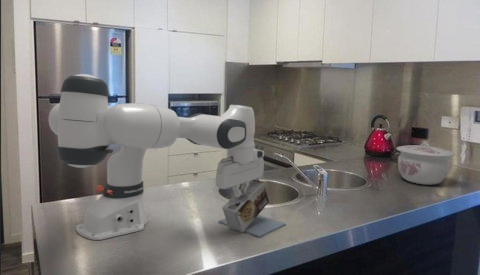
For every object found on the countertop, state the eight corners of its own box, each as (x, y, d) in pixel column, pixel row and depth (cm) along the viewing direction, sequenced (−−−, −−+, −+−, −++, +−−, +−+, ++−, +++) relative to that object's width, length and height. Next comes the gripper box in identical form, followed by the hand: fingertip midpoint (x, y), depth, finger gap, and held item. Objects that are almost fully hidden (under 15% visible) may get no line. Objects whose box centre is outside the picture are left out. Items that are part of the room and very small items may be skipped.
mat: (259, 237, 118) (259, 236, 118) (218, 222, 129) (218, 220, 129) (285, 225, 129) (286, 223, 129) (245, 212, 141) (245, 210, 141)
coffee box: (228, 227, 125) (255, 198, 135) (243, 233, 121) (270, 202, 131) (221, 207, 121) (249, 178, 131) (236, 212, 117) (264, 181, 127)
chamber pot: (446, 192, 176) (451, 149, 173) (386, 181, 193) (390, 142, 189) (455, 181, 198) (459, 143, 195) (400, 172, 215) (404, 137, 212)
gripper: (226, 161, 110) (225, 206, 112) (267, 151, 125) (266, 190, 128) (210, 158, 114) (211, 201, 116) (252, 148, 129) (252, 186, 132)
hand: (240, 195), depth 122 cm, fingers closed
